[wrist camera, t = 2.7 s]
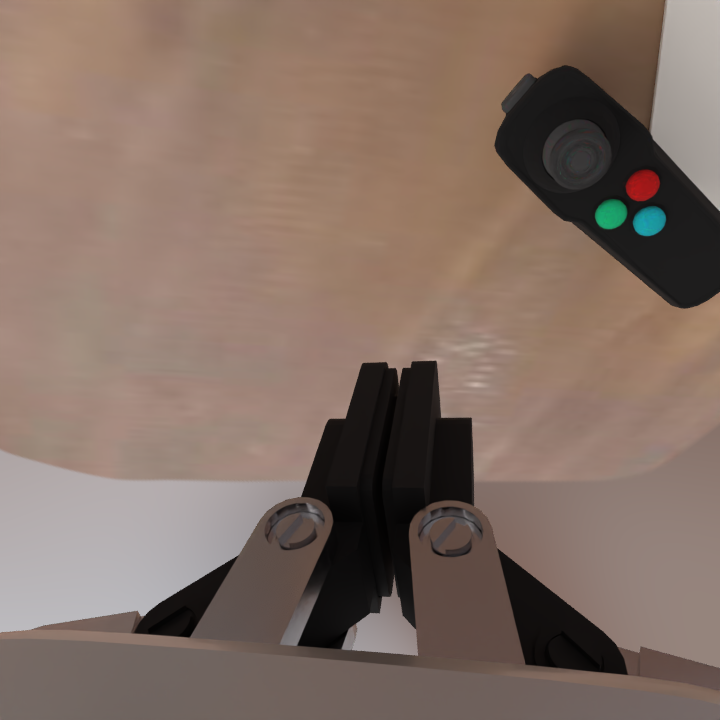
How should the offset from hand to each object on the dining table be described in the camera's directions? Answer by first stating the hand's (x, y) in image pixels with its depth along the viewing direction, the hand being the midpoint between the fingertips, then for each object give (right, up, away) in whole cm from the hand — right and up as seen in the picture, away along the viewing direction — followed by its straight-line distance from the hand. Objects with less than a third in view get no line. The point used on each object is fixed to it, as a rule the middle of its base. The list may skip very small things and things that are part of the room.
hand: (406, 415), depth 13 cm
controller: (+11, +12, +16) cm, 22 cm away
